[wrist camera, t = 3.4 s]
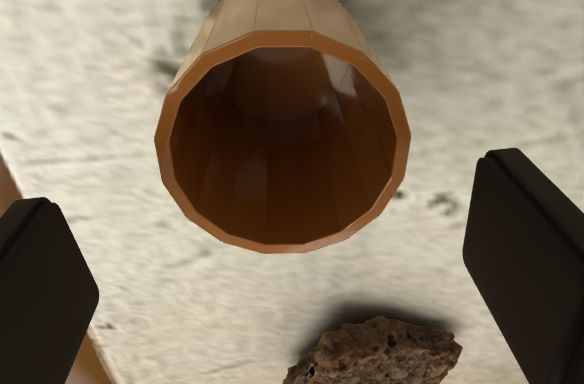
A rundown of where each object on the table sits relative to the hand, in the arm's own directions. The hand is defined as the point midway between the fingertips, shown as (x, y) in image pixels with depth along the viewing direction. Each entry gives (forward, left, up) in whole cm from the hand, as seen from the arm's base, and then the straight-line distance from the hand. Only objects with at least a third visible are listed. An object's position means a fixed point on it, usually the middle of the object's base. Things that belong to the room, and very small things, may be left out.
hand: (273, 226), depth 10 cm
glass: (0, 0, -13) cm, 13 cm away
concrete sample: (+18, +14, -13) cm, 26 cm away
